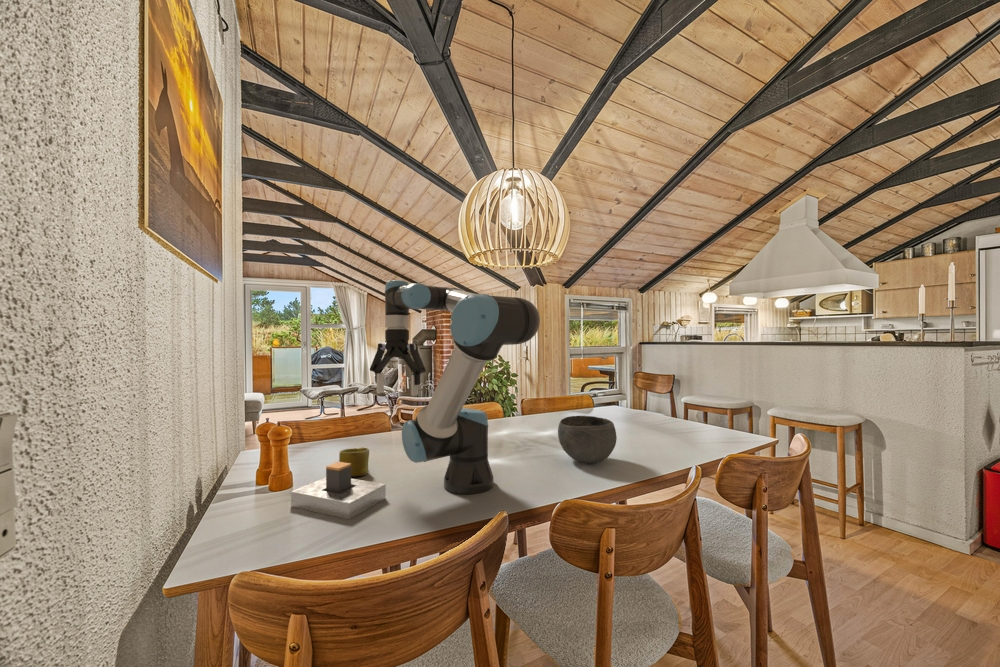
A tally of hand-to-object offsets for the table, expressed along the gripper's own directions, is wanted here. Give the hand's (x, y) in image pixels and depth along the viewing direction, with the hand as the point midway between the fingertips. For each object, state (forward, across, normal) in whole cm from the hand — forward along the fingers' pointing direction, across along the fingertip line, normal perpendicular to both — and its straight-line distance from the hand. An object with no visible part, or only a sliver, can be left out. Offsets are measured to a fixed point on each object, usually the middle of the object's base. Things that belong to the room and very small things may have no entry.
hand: (397, 394), depth 132 cm
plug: (+26, +2, +23) cm, 35 cm away
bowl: (+27, -54, -39) cm, 72 cm away
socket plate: (+27, +2, +23) cm, 35 cm away
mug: (+27, +15, +2) cm, 31 cm away
